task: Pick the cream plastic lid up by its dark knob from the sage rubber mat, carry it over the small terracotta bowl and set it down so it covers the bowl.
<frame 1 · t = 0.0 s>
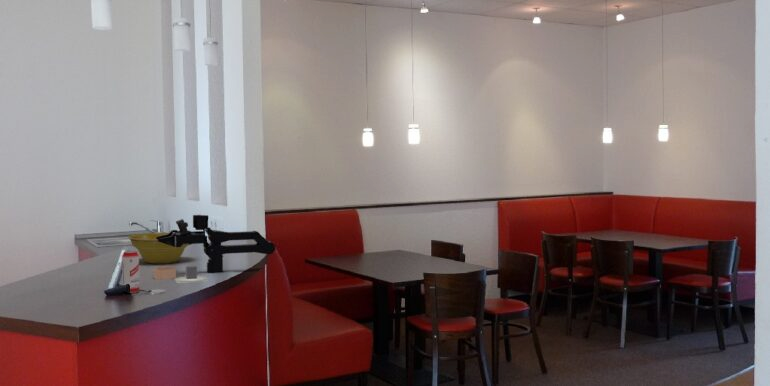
hand: (157, 239, 323), 17 cm above the counter, tool horizontal, fingers open, 9 cm apart
beer can: (131, 292, 284), on the counter
mat: (191, 281, 309), on the counter
lid: (191, 279, 309), point 1 cm above the counter, touching mat
bowl: (164, 278, 316), on the counter
planter bowl: (161, 262, 369), on the counter
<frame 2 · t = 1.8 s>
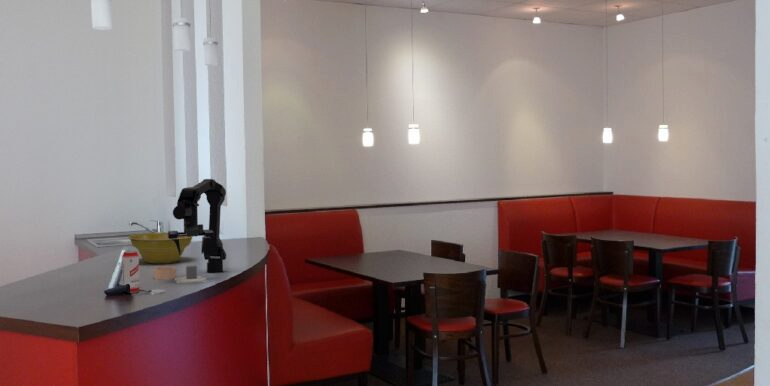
hand: (191, 254, 309), 12 cm above the counter, tool pointing down, fingers open, 9 cm apart
nothing on the counter moved.
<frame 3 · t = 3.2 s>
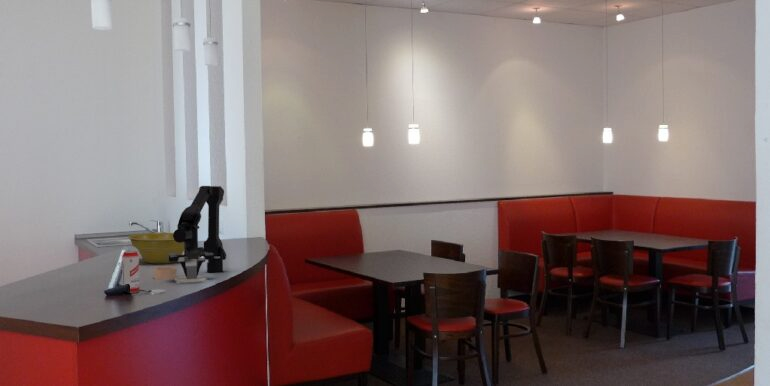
hand: (191, 276, 309), 2 cm above the counter, tool pointing down, fingers closed on lid, 4 cm apart
lid: (191, 279, 309), point 1 cm above the counter, touching gripper, mat
everything else where it was.
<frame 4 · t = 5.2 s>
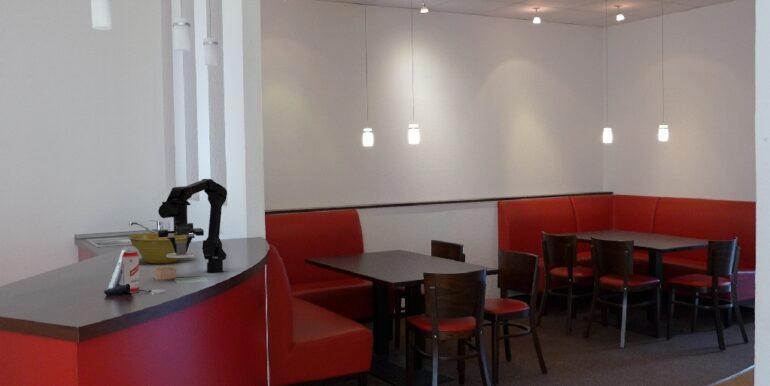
hand: (180, 252, 311), 12 cm above the counter, tool pointing down, fingers closed on lid, 4 cm apart
lid: (181, 256, 311), point 11 cm above the counter, touching gripper
everything else where it was.
when the fingers open (7 cm above the counter, at t = 7.3 s): lid drops 2 cm, resting on bowl.
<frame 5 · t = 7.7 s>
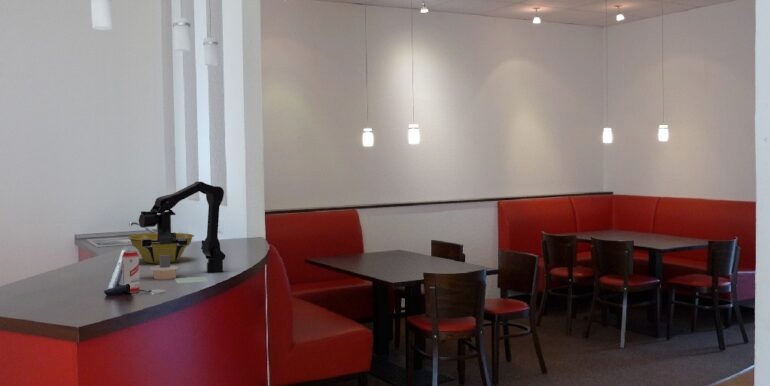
hand: (164, 261, 316), 7 cm above the counter, tool pointing down, fingers open, 9 cm apart
lid: (164, 268, 316), point 4 cm above the counter, touching bowl
everything else where it was.
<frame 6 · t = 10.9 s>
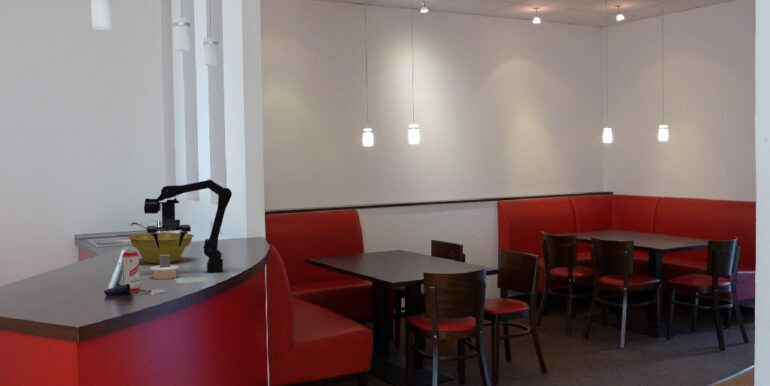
hand: (169, 247, 329), 12 cm above the counter, tool pointing down, fingers open, 9 cm apart
nothing on the counter moved.
at the end: lid 0.1 cm off-centre on the bowl, point 4.5 cm above the bowl's base; lid tilted 0°; the gripper is holding nothing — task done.
